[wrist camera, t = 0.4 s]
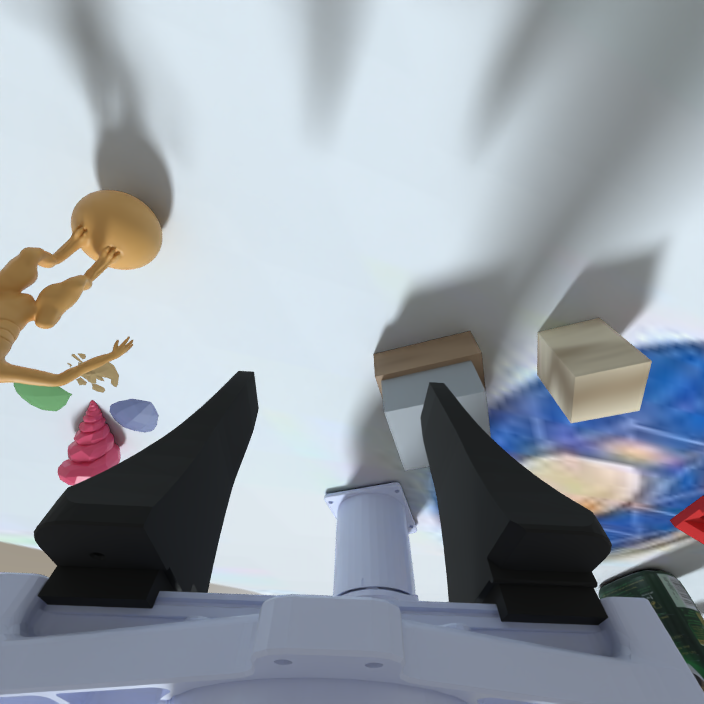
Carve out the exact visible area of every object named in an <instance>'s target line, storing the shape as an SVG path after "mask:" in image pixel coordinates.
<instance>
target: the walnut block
mask: <svg viewBox="0 0 704 704" xmlns="http://www.w3.org/2000/svg"><path fill="white" fill-rule="evenodd" d="M470 360H471V361H472V363H473V365H474V367H475V369H476V372H477V374H478V376H479V378H480V380H481V382H482V385H483V387H484V389H485V381H484V371H483V361H482V353H481V351H480V349H479V347H478V345H477V343H476V341H475V339H474V337H473V335H472V333H471V332H470V331H468V332H463V333H459V334H455V335H451V336H447V337H443V338H438V339H434V340H430V341H426V342H422V343H418V344H413V345H409V346H405V347H401V348H397V349H392V350H388V351H384V352H380V353H376V354H374V368H375V378H376V381H377V384H378V387H379V390H380V393H381V396H382V399H383V395H382V385H381V381H382V380H386V379H390V378H395V377H399V376H404V375H408V374H412V373H417V372H421V371H426V370H430V369H435V368H439V367H443V366H448V365H452V364H457V363H461V362H465V361H470ZM485 391H486V390H485Z"/></svg>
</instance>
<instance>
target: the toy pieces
mask: <svg viewBox="0 0 704 704" xmlns="http://www.w3.org/2000/svg"><path fill="white" fill-rule="evenodd" d="M78 355H79V356H80V357H81V358H82V359H85V357H86V356H85V354H78ZM72 356H73V357H74V358H75V359H77V360H78V361H79V362H81V363H79V362H78V363H79V364H78V365H80V364H82V363H83V362H82V361H81V360H80V359H79V358H78V357H77V356H76V355H75V354H72ZM67 364H69V363H67ZM69 365H70V367H71V366H72V365H71V364H69ZM81 376H82V377H84V378H85V379H87V380H88V381H89V382H91V383H96V378H97V379H99V380H101V381H104V380H103V378H102V377H107V378H109V379H111V384H112V385H113V386H114V387H116V386H117V385H118V378H119V375H118V373H117V371H116V369H115V367H114V365H112V364H111V363H109V362H108V363H106V364H104V365H103V366H101V367H99V368H96V369H94V370H92V371H90V372H87V373H85V374H83V375H81ZM77 381H78V383H79V385H86V383H87V382H86V381H84V380H83V379H82V378H81V377H80V378H79V379H77ZM92 386H93V388H92V389H94V390H96V391H98V392H102V393H103V392H104V391H105V389H104V388H103V387H101V386H99V385H97V384H92ZM14 387H15V389H16V392H17V393H18V394H19V395H20V396H21V397H22V398H23V399H24V400H26V401H27V402H28V403H30V404H31V405H33V406H35V407H37V408H40V409H42V410H48V411H58V410H59V409H61V408H62V407H63V406H65V405H66V403H67V401H68V399H69V397H70V396H71V395H72V394H70V393H68V392H67V391H65V390H63V389H62V388H60V387H59V386H56V387H48V386H37V385H28V384H22V383H14ZM100 411H101V410H100V409H99V407H98V405H97V404H96V403H95V401H93V400H92V401H91V402H90V405H89V407H88V410H87V411H86V415H85V416H83V422H81V423H80V425H79V429H80V430H78V431H77V433H76V435H75V437H74V440H75V441H74V442H72V443H71V444H70V445H69V447H68V457H69V459H68V460H66V461H64V462H63V463H62V464H61V465H60V466H59V467H58V475H59V478H60V480H62V481H63V482H65V483H67V484H68V485H75V484H77V483H80V482H82V481H84V480H86V479H88V478H90V477H93V476H95V475H97V474H99V473H101V472H103V471H105V470H107V469H109V468H111V467H113V466H115V465H117V464H118V463H119V461H120V458H121V457H120V448H119V447H118V445H117V444H116V443H114V436H113V435H112V434H111V433H110V432H109V431H110V429H109V426H108V424H106V423H105V421H106V420H105V418H104V417H102V412H100ZM110 413H111V415H112V416H113V418H114V419H115V420H116V421H117V422H118V423H119V424H120V425H122V426H123V427H125V428H128V429H131V430H134V431H140V432H149V431H152V430H154V428H155V427H156V425H157V420H158V416H159V415H158V413H157V411H156V409H155V407H154V406H153V404H152V403H151V402H147V401H142V400H136V399H129V400H124V401H119V402H116V403H114V404H112V405H111V406H110Z"/></svg>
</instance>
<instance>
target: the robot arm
mask: <svg viewBox="0 0 704 704" xmlns="http://www.w3.org/2000/svg"><path fill="white" fill-rule="evenodd" d="M258 409H259V408H258V400H257V392H256V384H255V376H254V372H247V371H238V372H237V373H236V374H235V375H234V376H233V377H232V378H231V379H230V380H229V381H228V382H227V383H226V384H225V385H224V386H223V387H222V388H221V389H220V390H219V391H218V392H217V393H216V394H215V395H214V396H213V397H212V398H211V399H209V400H208V401H207V402H206V403H205V404H204V405H203V406H202V407H201V408H200V409H198V410H197V411H196V412H195V413H194V414H193V415H191V416H190V417H189V418H188V419H187V420H185V421H184V422H183V423H182V424H180V425H179V426H178V427H176V428H175V429H174V430H172V431H171V432H170V433H168V434H167V435H165V436H164V437H162V438H161V439H159V440H158V441H156V442H155V443H153V444H151V445H150V446H148V447H147V448H145V449H143V450H142V451H140V452H139V453H137V454H135V455H133V456H132V457H130V458H128V459H126V460H124V461H123V462H121V463H119V464H117V465H115V466H113V467H111V468H109V469H107V470H105V471H103V472H101V473H99V474H97V475H95V476H93V477H90V478H88V479H86V480H84V481H82V482H80V483H77V484H75V485H73V486H71V487H68V488H67V489H66V491H65V492H64V493H63V494H62V495H61V496H60V498H59V499H58V500H57V501H56V503H55V504H54V505H53V507H52V508H51V509H50V511H49V512H48V513H47V514H46V516H45V517H44V518H43V520H42V521H41V522H40V524H39V525H38V526H37V528H36V529H35V531H34V538H35V541H36V543H37V544H38V545H39V547H40V548H41V549H42V550H43V551H44V552H45V553H46V554H47V555H48V556H49V557H50V558H51V559H52V561H54V563H55V564H56V565H57V567H56V569H55V570H54V572H53V573H52V575H51V576H50V578H49V577H47V576H44V575H41V574H33V573H7V572H0V704H704V692H703V690H702V688H701V687H700V685H699V683H698V682H697V680H696V678H695V677H694V675H693V673H692V672H691V670H690V669H689V667H688V665H687V664H686V662H685V660H684V659H683V657H682V655H681V654H680V652H679V650H678V649H677V647H676V645H675V644H674V642H673V640H672V639H671V637H670V635H669V634H668V632H667V630H666V629H665V627H664V625H663V624H662V622H661V620H660V619H659V617H658V615H657V614H656V612H655V610H654V609H653V607H652V606H651V604H650V602H649V601H648V600H647V599H645V598H634V597H606V598H602V599H600V600H599V598H598V596H597V594H596V592H595V590H594V588H596V587H597V581H596V579H595V577H594V575H593V573H592V571H593V570H594V569H595V568H596V567H597V566H598V565H599V564H600V563H601V562H602V561H603V560H604V559H605V558H606V557H607V556H608V555H609V553H610V551H611V546H612V544H611V542H610V540H609V538H608V537H607V535H606V533H605V531H604V530H603V528H602V526H601V525H600V523H599V521H598V520H597V518H596V517H595V515H594V514H593V512H591V511H590V510H588V509H586V508H585V507H583V506H581V505H580V504H578V503H576V502H575V501H573V500H571V499H570V498H568V497H566V496H565V495H563V494H561V493H560V492H558V491H557V490H555V489H554V488H552V487H551V486H550V485H548V484H547V483H545V482H544V481H542V480H541V479H539V478H538V477H537V476H535V475H534V474H533V473H531V472H530V471H529V470H527V469H526V468H525V467H524V466H522V465H521V464H520V463H518V462H517V461H516V460H515V459H514V458H512V457H511V456H510V455H509V454H508V453H507V452H506V451H505V450H503V449H502V448H501V447H500V446H499V445H498V444H497V443H496V442H495V441H494V440H493V439H492V438H491V437H490V436H489V435H488V434H487V433H486V432H485V431H484V430H483V429H482V428H481V427H480V426H479V425H478V424H477V423H476V421H475V420H474V419H473V418H472V417H471V416H470V414H469V413H468V412H467V411H466V410H465V409H464V407H463V406H462V405H461V404H460V402H459V401H458V400H457V399H456V397H455V396H454V395H453V393H452V392H451V391H450V390H449V388H448V387H447V386H446V385H445V383H437V382H429V386H428V389H427V393H426V397H425V401H424V405H423V409H422V413H421V417H420V419H421V428H422V436H423V442H424V446H425V450H426V454H427V459H428V462H429V466H430V470H431V474H432V478H433V482H434V486H435V491H436V496H437V501H438V508H439V515H440V522H441V529H442V537H443V545H444V554H445V564H446V573H447V584H448V596H449V602H428V601H419V600H418V596H417V595H415V582H414V574H413V566H412V558H411V550H410V542H409V534H411V533H415V532H417V527H416V525H415V522H414V519H413V517H412V514H411V511H410V509H409V506H408V503H407V501H406V498H405V495H404V493H403V490H402V487H401V485H400V483H397V482H394V483H388V484H382V485H376V486H370V487H365V488H359V489H353V490H347V491H341V492H335V493H329V494H326V495H325V496H324V500H325V502H326V503H327V505H328V506H329V508H330V510H331V511H332V513H333V515H334V516H335V518H336V519H337V527H336V548H335V569H334V590H333V596H324V595H299V594H291V595H278V596H274V595H248V594H222V593H220V594H219V593H208V588H209V583H210V578H211V574H212V569H213V564H214V560H215V555H216V551H217V546H218V542H219V538H220V533H221V529H222V525H223V521H224V517H225V513H226V509H227V506H228V502H229V498H230V494H231V490H232V487H233V484H234V481H235V478H236V476H237V473H238V470H239V468H240V465H241V462H242V460H243V457H244V454H245V452H246V449H247V447H248V444H249V441H250V438H251V436H252V433H253V430H254V426H255V422H256V418H257V413H258Z"/></svg>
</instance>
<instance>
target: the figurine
mask: <svg viewBox="0 0 704 704" xmlns="http://www.w3.org/2000/svg"><path fill="white" fill-rule="evenodd" d="M71 228H72V232H73V233H72V236H71V238H70V239H69V240H68V241H67V242H66V243H65V244H64V245H63V246H61V247H60V248H59V249H58V250H57V251H56V252H55V253H54V254H53V255H52V254H51V253H49V252H47V251H44V250H43V249H41V248H33V247H28V248H24V249H23V250H22V251H21V252H20V254H19V255H17V256H16V257H15V258H13V259H12V260H11V261H9V262H8V264H7V265H6V266H5V267H4V268H3V269H2V270H1V271H0V383H6V382H14V383H22V384H28V385H37V386H48V387H56V386H62V385H65V384H68V383H69V382H71V381H73V380H74V379H76V378H78V377H79V376H81V375H83V374H85V373H87V372H90V371H92V370H94V369H96V368H99V367H101V366H103V365H104V364H106V363H108V362H110V361H112V360H114V359H116V358H118V357H120V356H121V355H123V354H124V353H126V352H127V351H128V350H129V349H130V348H131V347H132V346H133V344H132V342H133V340H131V341H130V342H129V343H128V344H127V345H125V344H126V343H127V342H128V340H129V338H130V337H127V339H126V340H125V341H124V342H123V343H122V344H121V345H120V346H118V342H119V340H117V341H116V342H115V344H114V347H113V351H112V352H111V353H109V354H104V355H101V356H97V357H94V358H92V359H90V360H87V361H85V362H84V363H82V364H80V365H78V366H76V367H73V368H70V369H68V370H66V371H64V372H62V373H60V374H52V373H48V372H45V371H40V370H35V369H31V368H26V367H21V366H16V365H12V364H9V363H8V362H6V361H5V356H6V355H7V353H8V352H9V351H10V349H11V346H12V344H13V343H14V341H15V340H16V339H17V337H18V335H19V333H20V331H21V330H22V329H23V328H24V327H25V326H26V324H27V323H28V322H30V321H35V324H36V326H38V327H40V328H43V329H48V328H52V327H53V326H54V325H55V324H56V323H57V322H58V321H59V319H60V318H61V316H62V315H63V313H64V312H65V311H66V310H68V309H69V308H70V307H72V306H73V305H74V304H75V303H76V301H77V300H78V299H79V297H80V295H81V293H82V292H83V290H87V289H89V288H91V286H92V281H94V280H95V279H96V278H97V277H98V276H99V275H100V274H101V273H102V272H103V271H104V270H105V269H106V268H107V267H110V268H114V269H121V270H130V269H136V268H140V267H142V266H145V265H146V264H148V263H150V262H151V261H152V260H153V259H154V258H155V257H156V256H157V254H158V252H159V251H160V248H161V245H162V230H161V226H160V224H159V221H158V219H157V218H156V216H155V214H154V213H153V212H152V210H151V209H150V208H149V207H148V206H147V205H146V204H144V203H143V202H142V201H140V200H139V199H137V198H136V197H134V196H132V195H130V194H127V193H124V192H120V191H115V190H101V191H96V192H93V193H90V194H88V195H86V196H85V197H83V198H82V199H81V200H80V201H79V202H78V203H77V205H76V206H75V208H74V210H73V213H72V217H71ZM79 248H81V249H82V250H83V251H84V252H85V253H86V254H87V255H88V256H89V257H91V258H92V259H93V260H95V261H96V262H95V263H94V264H93V265H92V266H91V267H90V268H89V269H88V270H87V271H86V273H85V274H84V275H78V276H75V277H71V278H69V279H67V280H65V281H63V282H61V283H56V284H52V285H49V286H47V287H46V288H44V289H43V290H42V291H41V292H40V294H39V296H38V298H37V300H36V301H35V300H34V298H33V297H32V296H31V295H29V294H24V293H21V291H22V290H24V289H26V288H27V287H29V286H30V285H32V284H33V283H34V282H35V281H36V280H37V277H38V272H37V265H39V266H42V267H45V268H51V267H54V266H55V265H56V264H59V263H61V262H63V261H64V260H65V259H67V258H68V257H69V256H70V255H72V254H73V253H74V252H75V251H77V250H78V249H79Z"/></svg>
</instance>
